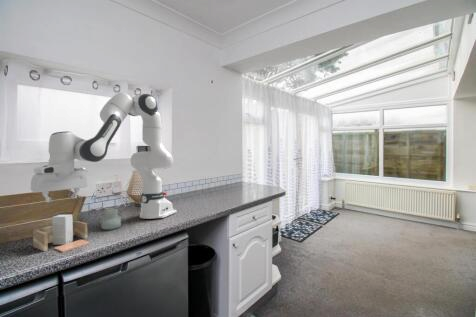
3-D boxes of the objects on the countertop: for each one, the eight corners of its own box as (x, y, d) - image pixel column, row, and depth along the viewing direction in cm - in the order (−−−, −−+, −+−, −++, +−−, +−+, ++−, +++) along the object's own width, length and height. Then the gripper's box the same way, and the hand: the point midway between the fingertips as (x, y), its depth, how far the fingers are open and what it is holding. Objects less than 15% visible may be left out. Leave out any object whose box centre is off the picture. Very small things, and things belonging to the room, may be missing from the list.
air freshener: (103, 226, 121) (103, 208, 121) (121, 224, 124) (121, 206, 124) (100, 233, 111) (100, 212, 111) (119, 230, 114) (119, 211, 114)
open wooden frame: (75, 234, 108) (75, 220, 108) (87, 238, 103) (87, 223, 103) (33, 246, 94) (33, 230, 94) (44, 251, 89) (44, 234, 89)
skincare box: (73, 241, 100) (73, 214, 100) (65, 244, 96) (65, 217, 96) (60, 241, 100) (59, 214, 100) (51, 244, 96) (51, 216, 96)
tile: (80, 240, 100) (80, 239, 100) (89, 243, 97) (89, 242, 97) (54, 249, 92) (54, 247, 92) (63, 252, 88) (63, 250, 88)
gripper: (83, 167, 108) (83, 196, 108) (28, 169, 90) (28, 203, 90) (90, 167, 105) (90, 197, 105) (35, 169, 87) (35, 205, 87)
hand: (61, 200), depth 98 cm, fingers open, 8 cm apart
